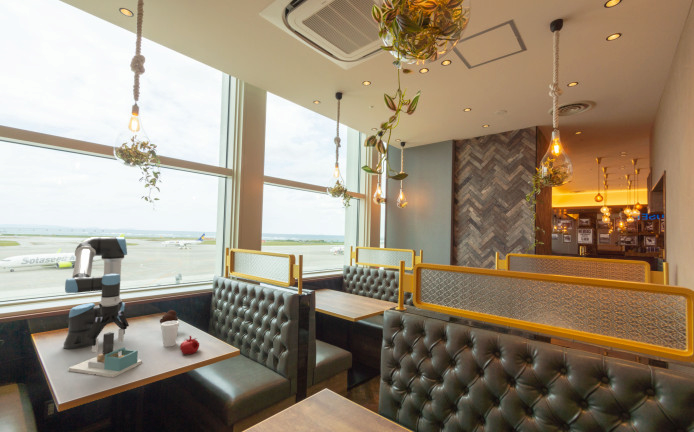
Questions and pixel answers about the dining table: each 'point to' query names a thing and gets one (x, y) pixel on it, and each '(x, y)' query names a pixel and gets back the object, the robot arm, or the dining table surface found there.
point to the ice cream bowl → (169, 317)
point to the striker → (107, 347)
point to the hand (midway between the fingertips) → (108, 346)
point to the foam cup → (169, 332)
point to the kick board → (98, 368)
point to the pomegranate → (189, 346)
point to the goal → (120, 359)
